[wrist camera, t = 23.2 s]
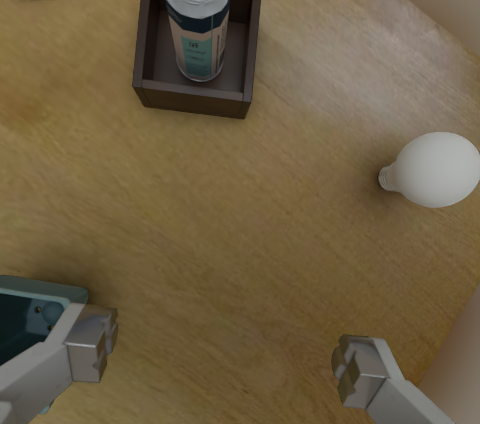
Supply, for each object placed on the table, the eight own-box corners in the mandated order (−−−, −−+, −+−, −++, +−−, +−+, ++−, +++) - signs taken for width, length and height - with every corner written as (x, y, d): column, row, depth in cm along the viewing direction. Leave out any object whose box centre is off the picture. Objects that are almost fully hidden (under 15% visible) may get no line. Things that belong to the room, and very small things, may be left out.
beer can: (210, 30, 32) (212, -76, 20) (231, 72, 33) (245, -9, 21) (168, 48, 32) (145, -49, 20) (189, 91, 32) (179, 20, 20)
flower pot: (19, 259, 31) (-56, 279, 22) (109, 275, 32) (71, 299, 23) (1, 346, 31) (-82, 401, 22) (91, 359, 32) (47, 416, 23)
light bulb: (423, 184, 36) (519, 172, 25) (381, 220, 35) (459, 224, 24) (390, 138, 35) (472, 105, 24) (346, 173, 35) (410, 156, 24)
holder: (253, 22, 34) (262, -13, 28) (244, 119, 34) (251, 102, 28) (153, 6, 33) (143, -34, 27) (144, 106, 32) (131, 86, 27)
